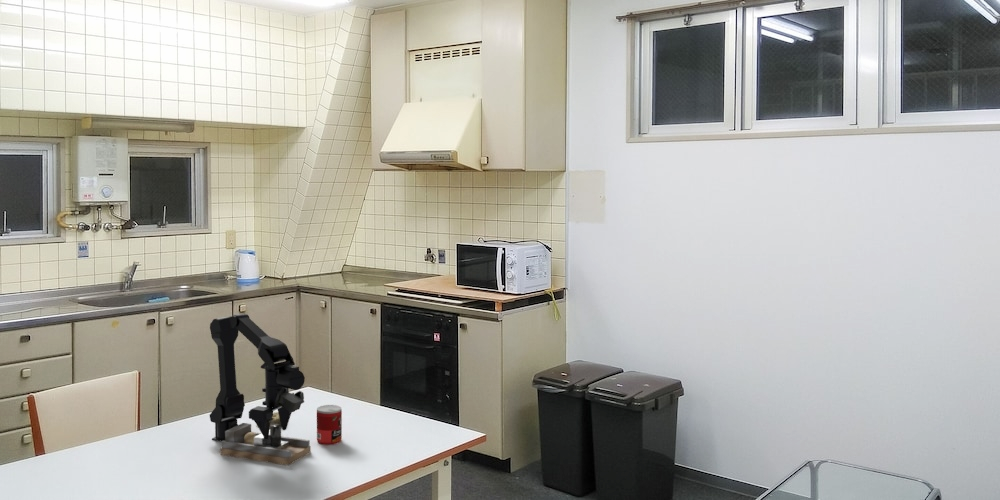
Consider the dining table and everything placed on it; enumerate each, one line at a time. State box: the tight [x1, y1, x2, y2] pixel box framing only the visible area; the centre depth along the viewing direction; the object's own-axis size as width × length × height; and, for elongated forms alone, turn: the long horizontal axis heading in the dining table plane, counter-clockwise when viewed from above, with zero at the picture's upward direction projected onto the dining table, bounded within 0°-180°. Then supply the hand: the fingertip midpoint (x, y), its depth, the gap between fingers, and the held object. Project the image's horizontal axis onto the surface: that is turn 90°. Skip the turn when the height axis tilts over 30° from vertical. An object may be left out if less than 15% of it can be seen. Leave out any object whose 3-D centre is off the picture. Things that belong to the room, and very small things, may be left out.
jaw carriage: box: [254, 424, 289, 449], centre depth 244 cm, size 7×8×7 cm
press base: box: [220, 422, 312, 466], centre depth 244 cm, size 24×12×7 cm, turn 71°
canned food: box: [316, 404, 343, 446], centre depth 256 cm, size 8×8×11 cm
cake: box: [255, 411, 282, 430], centre depth 272 cm, size 10×10×5 cm
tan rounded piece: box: [244, 431, 257, 445], centre depth 246 cm, size 4×4×4 cm
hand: (275, 434), depth 243 cm, fingers open, 9 cm apart
